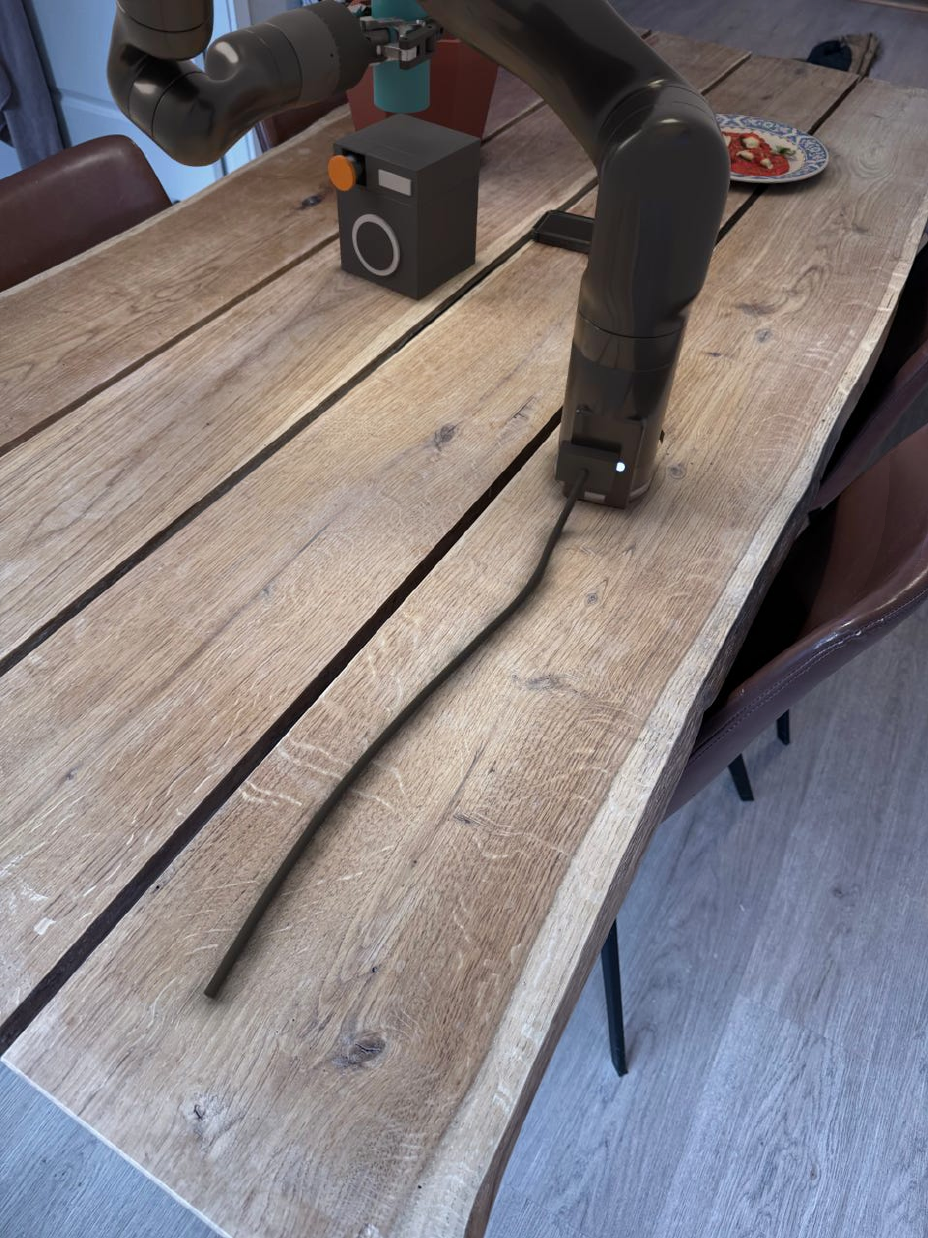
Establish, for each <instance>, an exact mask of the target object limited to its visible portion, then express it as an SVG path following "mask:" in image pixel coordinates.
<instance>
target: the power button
mask: <svg viewBox="0 0 928 1238" xmlns="http://www.w3.org/2000/svg"><path fill="white" fill-rule="evenodd" d="M327 171H328V176H329V179H330V181H331V182H332V184H333V185H334V186H335V188H336V187H337V188H338V189H340V190H342V191H347V190H349V189H351V188H353V186H354V185H355V182H357V181H359V180H361V179H363V178H365V177H366V161H365V155H362V154H359V153H356V152H353V153H351V154H349V155H347V156H342V155H337V156H335V157H334V156H333V157H331V158H330V160H329V162H328V165H327Z"/></svg>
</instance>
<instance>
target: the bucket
mask: <svg viewBox="0 0 928 1238" xmlns="http://www.w3.org/2000/svg"><path fill="white" fill-rule="evenodd" d="M348 4H349V6H355V5H358V4H362V5H365V6H368V5H371V0H352V1H351V2H350V3H348ZM499 68H500V66H499V65H497V64H496V63H494V62H492V61H491V60H489V59H487V58H486V57H484V56H483V55H481V54H479V53H478V52H476V51H475V50H473V49H472V48H470V47H469V46H467V45H466V44H464V43H463V42H462V41H460V40H459V39H457V38H456V37H455V36H453V35H452V34H451V33H449V32H448V31H447V30H446V29H445V36H444V38H442V39H441V40H438V41H436V46H435V56H434V57H432V58H430V104H429V107H428V108H427V109H425V110H423V111H420V112H416V113H402V114H405V115H408V116H412V117H415V118H418V119H421V120H424V121H427V122H431V123H434V124H437V125H440V126H443V127H446V128H449V129H453V130H456V131H459V132H462V133H465V134H468V135H472V136H475V137H478V138H481V143H482V141H483V138H484V137H483V136H484V133H485V128H486V124H487V119H488V117H489V116H488V115H489V111H490V107H491V102H492V99H493V94H494V89H495V85H496V81H497V76H498V72H499ZM345 92H346V97H347V102H348V105H349V110H350V114H351V118H352V122H353V127H354V131H355V132H357V131H359V130H361V129H364V128H366V127H368V126H370V125H373V124H375V123H377V122H379V121H382V120H384V119H386V118H389V117H391V116H393V115H395V114H398V113H392V112H388V111H384V110H381V109H379V108H378V107H377V106H376V105H375V103H374V75H373V66H368V68H367V70H366V72H365V74H364V76H363V78H362V79H361V81H360V82H359V83H358V84H357V85H356V86H355V87H354V88H352V89H349V90H347V91H345Z"/></svg>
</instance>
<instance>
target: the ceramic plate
mask: <svg viewBox="0 0 928 1238" xmlns="http://www.w3.org/2000/svg"><path fill="white" fill-rule="evenodd" d="M715 116H716V119H717V121H718V123H719V126H720V129H721V131H722V134H723V137H724V140H725V142H726V145H727V148H728V151H729V156H730V162H731V177H730V181H736V182H746V183H757V184H758V183H759V184H760V183H761V184H777V183H780V184H781V183H788V182H797V181H801V180H804V179H808V178H811V177H814V176H816V175H818V174H819V173H821V172H822V171H824V169H825V168H826V167H828V164H829V160H830V154H829V151H828V150H827V148H826V147H825V146H824V144H822V143H821V142H820V140H818V139H817V138H815V137H814V136H812V135H810V134H808V133H807V132H804V131H803V130H801V129H798V128H796V127H793V126H790V125H787V124H785V123H782V122H778V121H775V120H770V119H765V118H761V117H756V116H755V117H754V116H749V115H739V114H723V113H722V114H721V113H720V114H719V113H715Z"/></svg>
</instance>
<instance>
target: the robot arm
mask: <svg viewBox="0 0 928 1238" xmlns="http://www.w3.org/2000/svg"><path fill="white" fill-rule="evenodd" d="M415 1H416V2H417V3H418V4H419V6H420V7H421V8H422V9H423V10H424V11H425V12H427V13H428V14H429V15H430V16H427V17H424V18H421V19H417V20H413V21H404V20H402V19H401V18H399V17H397V16H396V17H386V18H377V19H375V18H374V17H372V4H371V5H368V6H365V5H362V4H358V5H355V6H349V4H350V3H348V2H345V1H338V0H320V1H316V2H313V3H309V4H306V5H304V6H300V7H297V8H294V9H290V10H287V11H283V12H280V13H277V14H273V15H272V16H270V17H268V18H266V19H264V20H263V21H261V22H258V23H256V24H252V25H249V26H246V27H243V28H240V29H236V30H232V31H229V32H227V33H224V34H222V35H221V36H218V37H217V38H215V39H214V40H213V41H212V42H211V40H212V37H213V33H214V25H215V2H214V0H115V4H116V8H115V15H114V20H113V24H112V30H111V37H110V43H109V47H108V54H107V60H106V67H105V68H106V69H105V72H106V73H105V74H106V80H107V85H108V90H109V92H110V94H111V96H112V100H113V101H114V103H115V105H116V106H117V108H118V110H120V112H121V113H122V115H123V116H124V117H125V118H126V119H127V120H128V121H129V122H131V124H133V125H134V126H135V127H136V128H137V129H139V130H140V131H141V132H142V133H143V134H144V135H145V136H146V137H147V138H148V139H150V140H151V141H152V142H153V143H154V144H155V145H156V146H157V147H158V148H159V149H161V150H162V151H163V153H165V154H166V155H167V156H168V157H169V158H171V160H173V161H175V162H176V163H178V164H180V165H183V166H185V167H193V168H202V167H207V166H211V165H213V164H215V163H217V162H218V161H220V160H221V159H222V158H223V157H225V155H226V154H227V153H228V152H229V151H230V150H231V149H232V148H233V147H234V146H235V145H236V144H237V143H238V142H239V141H240V140H241V139H242V138H243V137H245V136H246V135H247V134H248V133H249V132H251V130H252V129H253V128H255V127H256V125H258V124H260V122H262V121H264V120H266V119H269V118H272V117H274V116H277V115H279V114H282V113H285V112H288V111H290V110H295V109H300V108H301V109H302V108H305V107H309V106H311V105H314V104H317V103H319V102H321V101H324V100H326V99H329V98H331V97H334V96H337V95H339V94H342V93H344V92H346V91H347V90H349V89H352V88H354V87H355V86H356V85H357V84H358V83H359V82H360V81H361V79H362V78H363V76H364V74H365V72H366V70H367V68H368V66H376V65H379V64H380V63H381V62H385V61H393V60H399V68H400V69H402V70H409V69H412V68H413V67H415V66H417V65H419V64H421V63H423V62H425V61H426V60H428V59H430V58H432V57H434V56H435V46H436V41H438V40H441V39H442V38H444V36H445V29H446V30H447V31H448V32H449V33H451V34H452V35H453V36H455V37H456V38H457V39H459V40H460V41H462V42H463V43H464V44H466V45H467V46H469V47H470V48H472V49H473V50H475V51H476V52H478V53H479V54H481V55H483V56H484V57H486V58H487V59H489V60H491V61H492V62H494V63H496V64H497V65H499V68H502V69H504V70H505V71H507V72H508V73H510V74H511V75H513V76H514V77H517V78H518V79H519V80H520V81H522V82H523V83H524V84H526V85H527V86H528V87H530V89H531V90H533V91H534V92H535V93H536V94H537V95H538V96H539V97H540V98H541V99H542V101H544V102H545V103H546V104H547V105H548V107H550V109H551V110H552V111H553V112H554V113H555V115H556V116H557V117H558V118H559V119H560V121H561V122H562V123H563V124H564V126H565V127H566V128H567V129H568V130H569V132H570V134H572V136H573V137H574V138H575V140H576V141H577V143H578V144H579V145H580V146H581V148H582V149H583V151H584V153H586V155H587V157H588V158H589V159H590V161H591V163H592V164H593V166H594V169H595V171H596V176H597V177H596V179H597V184H598V185H597V193H596V203H595V210H594V216H593V218H594V223H593V230H592V236H591V243H590V250H589V253H588V256H587V263H586V267H585V268H584V270H583V272H582V274H581V278H580V283H579V290H578V298H577V307H576V315H575V321H574V329H573V335H572V340H571V347H570V354H569V362H568V369H567V374H566V375H567V376H566V383H565V390H564V398H563V405H562V411H561V418H560V424H559V425H560V426H559V431H558V432H559V433H558V440H557V441H558V442H557V447H556V453H555V455H554V463H553V473H554V481H557V482H558V483H559V485H560V486H561V487H562V489H561V495H562V496H563V497H568V498H567V500H566V502H565V504H564V506H563V509H562V511H561V512H560V515H559V517H558V519H557V520H556V523H555V525H554V527H553V529H552V531H551V534H550V535H549V538H548V539H547V542H546V545H545V547H544V550H543V552H542V553H541V554H542V555H541V557H540V559H539V561H538V564H537V566H536V567H535V570H534V572H533V573H532V575H531V577H530V578H529V580H528V581H527V583H526V584H525V586H524V587H523V588H522V589H521V591H520V592H519V593H518V595H517V596H516V597H514V599H513V600H512V601H511V603H509V604H508V606H507V607H505V608H504V609H503V611H502V612H500V614H498V615H497V617H495V618H494V619H493V620H492V621H491V622H490V623H489V624H488V625H487V626H486V627H485V628H484V629H483V630H481V632H480V633H478V634H477V635H476V636H475V637H474V639H473V640H471V641H470V642H469V644H467V645H466V647H464V649H462V650H461V651H460V652H459V653H458V654H457V655H456V656H455V657H454V658H453V659H452V660H451V661H450V662H449V663H448V664H447V665H446V666H445V667H444V668H443V669H442V670H441V671H440V672H439V673H438V674H436V675H435V677H434V678H433V679H431V681H430V682H429V683H427V685H426V686H425V687H424V688H423V689H422V690H421V691H420V692H419V693H418V694H417V695H416V696H415V697H413V699H412V700H411V701H410V702H409V703H408V704H407V705H406V706H405V708H404V709H403V710H402V711H401V712H400V713H399V714H398V715H397V716H396V717H395V718H394V719H393V720H392V721H391V722H390V723H389V725H387V727H385V729H384V730H383V731H382V732H381V733H380V734H379V735H378V737H377V738H376V739H375V740H374V741H373V742H372V743H371V744H370V746H369V747H368V748H367V749H366V750H365V751H364V752H363V753H362V755H361V756H360V758H358V760H357V761H356V762H355V763H354V765H353V766H352V767H351V768H350V769H349V770H348V771H347V773H346V774H345V775H344V777H343V778H342V779H341V780H340V781H339V783H338V784H337V786H335V788H334V789H333V791H332V792H331V793H330V794H329V796H328V797H327V799H325V801H324V802H323V804H322V805H321V807H320V808H319V809H318V810H317V812H316V813H315V815H314V816H313V817H312V819H311V820H310V822H309V823H308V824H307V825H306V827H305V829H304V830H303V831H302V833H301V835H300V836H299V837H298V838H297V840H296V842H295V843H294V845H293V846H292V848H291V849H290V851H289V852H288V854H287V855H286V857H285V858H284V860H282V862H281V864H280V866H279V867H278V869H277V870H276V871H275V873H274V875H273V876H272V878H271V879H270V881H269V882H268V884H267V886H266V887H265V889H264V890H263V892H262V893H261V895H260V897H259V898H258V900H257V901H256V903H255V905H254V906H253V908H252V910H251V911H250V913H249V914H248V916H247V918H246V919H245V921H244V923H243V925H242V926H241V928H240V930H239V931H238V933H237V935H236V937H235V938H234V940H233V941H232V943H231V945H230V947H229V949H228V950H227V952H226V954H225V955H224V957H223V959H222V960H221V962H220V964H219V966H218V967H217V969H216V970H215V972H214V974H213V975H212V977H211V979H210V980H209V982H208V984H207V985H206V987H205V989H204V991H203V995H204V996H206V997H207V998H209V999H211V1000H215V999H216V998H217V996H218V994H219V993H220V990H221V989H222V988H223V985H224V984H225V982H226V980H227V978H228V977H229V975H230V974H231V971H232V970H233V968H234V966H235V965H236V963H237V961H238V959H239V958H240V956H241V954H242V952H243V951H244V950H245V947H246V946H247V944H248V942H249V941H250V939H251V937H252V935H253V934H254V932H255V930H256V928H257V927H258V925H259V923H260V921H261V920H262V918H263V916H264V915H265V913H266V912H267V910H268V909H269V907H270V905H271V903H272V902H273V900H274V898H275V897H276V895H277V894H278V892H279V891H280V889H281V888H282V886H283V884H284V882H285V881H286V879H288V876H289V875H290V873H291V872H292V870H293V869H294V867H295V865H296V864H297V862H298V861H299V859H300V858H301V856H302V855H303V854H304V852H305V850H306V849H307V848H308V847H309V846H308V845H310V844H311V842H312V840H313V839H314V837H315V836H316V835H317V832H318V831H319V830H320V829H321V827H322V825H323V824H324V823H325V821H326V820H327V819H328V817H329V816H330V814H331V813H332V812H333V810H334V809H335V808H336V806H337V805H338V804H339V802H340V801H341V800H342V798H343V797H344V796H345V794H346V793H347V792H348V791H349V789H350V788H351V787H352V785H353V784H354V783H355V781H356V780H357V779H358V778H359V777H360V775H361V774H362V773H363V771H364V770H365V769H366V768H367V767H368V765H370V763H371V762H372V760H374V758H375V757H376V756H377V755H378V754H379V753H380V752H381V750H382V749H383V748H384V747H385V746H386V744H388V742H389V741H390V740H391V739H392V738H393V737H394V736H395V735H396V734H397V732H398V731H399V730H400V729H401V728H402V727H403V726H404V725H405V724H406V723H407V722H408V720H409V719H410V718H411V717H413V715H414V714H415V712H417V711H418V710H419V709H420V708H421V706H422V705H423V704H424V703H425V702H426V701H427V700H428V699H429V698H430V697H432V695H433V694H434V693H435V692H436V691H437V690H438V689H439V688H440V687H441V686H442V685H443V684H444V683H445V682H446V681H447V680H448V679H449V678H450V677H451V676H452V675H453V674H454V673H455V672H456V671H457V670H458V669H459V668H460V667H462V665H463V664H464V663H465V662H466V661H468V659H470V657H471V656H472V655H473V654H474V653H475V652H476V651H477V650H478V649H479V648H481V646H483V644H484V643H485V642H486V641H487V640H488V639H489V638H490V637H491V636H492V635H494V633H495V632H497V630H499V629H500V628H501V626H503V625H504V624H505V623H506V622H507V621H508V620H509V619H510V618H511V617H512V616H513V615H514V614H515V613H516V612H517V611H518V610H519V608H521V606H522V605H523V604H524V603H525V601H527V599H528V598H529V597H530V596H531V594H532V592H533V591H534V589H535V588H536V587H537V585H538V584H539V582H540V580H541V579H542V577H543V575H544V574H545V571H546V570H547V567H548V565H549V561H550V559H551V557H552V553H553V551H554V549H555V547H556V544H557V543H558V540H559V538H560V536H561V533H562V532H563V530H564V528H565V525H566V524H567V521H568V520H569V518H570V515H571V514H572V511H573V509H574V507H575V505H576V503H577V501H578V500H582V501H587V502H592V503H597V504H602V505H606V506H611V507H616V508H621V509H627V507H628V504H629V503H630V501H633V500H635V499H637V498H639V497H641V496H642V495H643V494H645V492H646V491H647V490H648V489H649V487H650V485H651V482H652V478H653V473H654V466H655V465H654V464H655V461H656V456H657V452H658V447H659V443H660V444H663V442H664V438H665V435H666V433H665V431H664V429H663V427H664V423H665V418H666V415H667V410H668V406H669V403H670V398H671V394H672V390H673V385H674V381H675V377H676V373H677V369H678V366H679V361H680V356H681V353H682V349H683V345H684V341H685V336H686V333H687V328H688V325H689V320H690V316H691V313H692V309H693V304H694V303H695V301H696V300H697V299H698V297H699V296H700V294H701V292H702V290H703V288H704V285H705V282H706V278H707V275H708V271H709V268H710V265H711V261H712V258H713V254H714V250H715V247H716V243H717V239H718V236H719V232H720V229H721V225H722V221H723V218H724V213H725V210H726V206H727V201H728V196H729V191H730V184H731V179H730V177H731V162H730V156H729V151H728V148H727V145H726V142H725V140H724V137H723V134H722V131H721V129H720V126H719V123H718V121H717V119H716V116H715V114H716V112H715V111H714V109H713V107H712V106H711V104H710V103H709V102H708V100H707V99H706V98H705V96H704V95H703V94H702V93H701V92H700V91H699V90H698V89H697V88H696V87H695V86H694V85H693V84H692V83H691V82H689V81H688V80H687V79H686V78H685V77H684V76H683V75H681V73H679V72H678V71H677V70H676V69H675V68H674V67H673V66H672V65H670V63H668V62H667V61H666V60H665V59H664V58H663V57H662V56H661V55H659V53H658V52H657V51H655V50H654V49H653V47H651V45H650V44H648V42H647V41H646V40H645V39H643V37H641V35H639V34H638V33H637V32H636V31H635V30H634V29H633V28H632V27H631V26H630V25H629V24H628V23H627V21H625V19H624V18H623V17H622V16H621V15H620V14H619V13H618V12H617V11H616V9H614V7H613V6H612V4H611V3H610V2H609V0H415ZM388 27H394V44H392V43H391V39H390V30H389V28H388ZM408 30H413V32H411V33H409V34H407V35H405V34H406V31H408ZM210 42H211V43H210ZM205 51H206V52H205ZM203 52H205V55H204V63H203V64H204V65H203V66H204V67H203V68H204V70H202V69H201V68H200V67H199V66H198V65H197V64H196V63H195V62H194V61H192V59H196V58H197V57H198V56H200V55H202V54H203Z"/></svg>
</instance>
